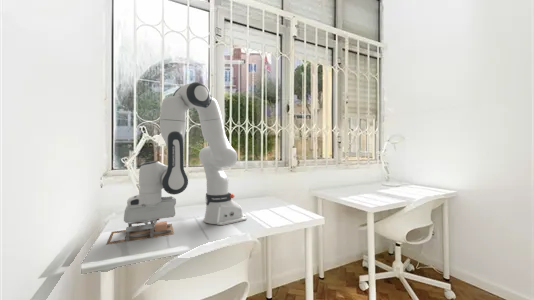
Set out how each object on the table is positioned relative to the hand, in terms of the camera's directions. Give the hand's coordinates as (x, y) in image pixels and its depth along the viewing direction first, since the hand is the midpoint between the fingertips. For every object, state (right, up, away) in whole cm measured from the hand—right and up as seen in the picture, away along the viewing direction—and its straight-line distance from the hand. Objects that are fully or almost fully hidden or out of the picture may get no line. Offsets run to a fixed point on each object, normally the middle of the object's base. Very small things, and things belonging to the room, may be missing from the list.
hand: (150, 229), depth 104 cm
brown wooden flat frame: (-3, -3, -1) cm, 4 cm away
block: (+4, -1, +2) cm, 4 cm away
